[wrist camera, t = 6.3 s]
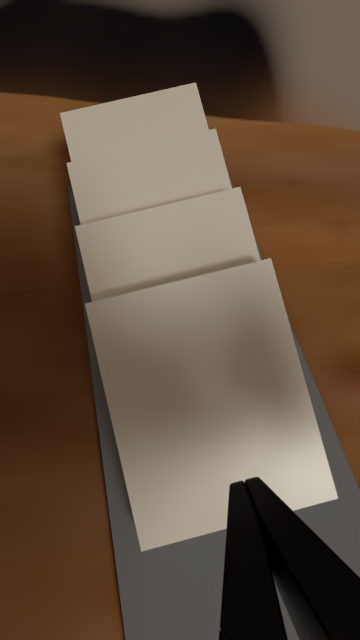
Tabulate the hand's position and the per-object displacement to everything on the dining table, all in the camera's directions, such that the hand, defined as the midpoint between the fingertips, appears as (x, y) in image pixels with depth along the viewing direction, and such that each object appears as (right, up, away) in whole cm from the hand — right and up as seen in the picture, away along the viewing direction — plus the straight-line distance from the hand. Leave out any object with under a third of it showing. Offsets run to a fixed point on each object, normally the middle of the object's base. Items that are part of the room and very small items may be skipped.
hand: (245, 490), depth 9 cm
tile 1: (+1, -5, +7) cm, 8 cm away
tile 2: (0, -1, +9) cm, 9 cm away
